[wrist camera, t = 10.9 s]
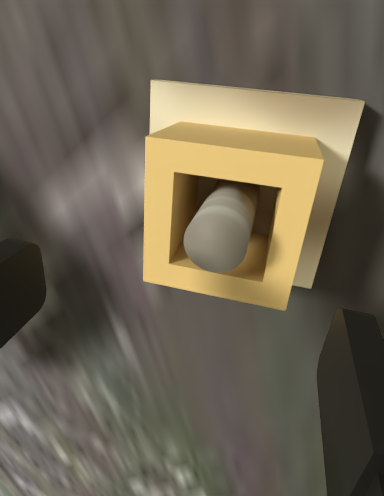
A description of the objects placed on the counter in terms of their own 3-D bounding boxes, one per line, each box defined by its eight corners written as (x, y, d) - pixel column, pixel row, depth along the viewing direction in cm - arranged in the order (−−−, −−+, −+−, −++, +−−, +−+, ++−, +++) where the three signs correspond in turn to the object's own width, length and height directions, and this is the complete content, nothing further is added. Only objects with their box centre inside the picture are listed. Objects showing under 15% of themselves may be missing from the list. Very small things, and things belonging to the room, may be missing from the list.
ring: (180, 121, 18) (145, 136, 13) (314, 137, 16) (324, 159, 12) (173, 237, 21) (143, 281, 16) (286, 258, 19) (285, 310, 15)
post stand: (160, 79, 18) (83, 83, 11) (359, 99, 17) (409, 117, 10) (155, 246, 23) (97, 320, 16) (309, 275, 21) (319, 373, 14)
